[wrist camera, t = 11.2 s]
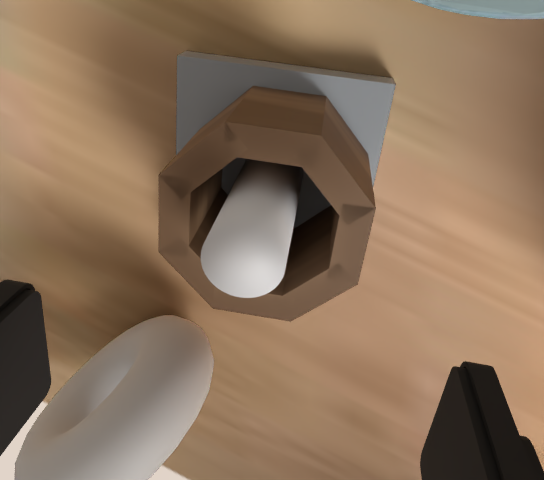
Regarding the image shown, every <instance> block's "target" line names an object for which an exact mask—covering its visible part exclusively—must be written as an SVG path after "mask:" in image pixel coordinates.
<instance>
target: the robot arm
mask: <svg viewBox="0 0 544 480" xmlns="http://www.w3.org/2000/svg"><path fill="white" fill-rule="evenodd" d="M50 385H51V375H50V367H49V358H48V350H47V342H46V334H45V326H44V318H43V309H42V301H41V295H40V293H39V292H37V291H35V288H34V287H33V285H31V284H29V283H23V282H18V281H12V280H4V281H2V282H0V456H1V454H2V453H3V452H4V450H5V449H6V448H7V446H8V445H9V444H10V443H11V441H12V440H13V439H14V437H15V436H16V435H17V433H18V432H19V431H20V429H21V428H22V427H23V425H24V424H25V423H26V422H27V420H28V419H29V417H30V416H31V415H32V414H33V412H34V411H35V410H36V408H37V407H38V406H39V404H40V403H41V402H42V401H43V399H44V398H45V397H46V395H47V393H48V391H49V389H50ZM420 468H421V476H422V480H544V471H543V469H542V466H541V464H540V461H539V459H538V456H537V454H536V451H535V449H534V447H533V445H532V443H531V441H530V440H529V439H528V438H527V437H524V436H519V433H518V430H517V428H516V425H515V422H514V420H513V417H512V414H511V412H510V409H509V407H508V404H507V401H506V399H505V396H504V393H503V391H502V388H501V385H500V383H499V380H498V377H497V375H496V372H495V370H494V368H493V367H492V366H488V365H483V364H477V363H472V362H466V361H465V362H463V363H462V364H461V366H460V367H453V368H452V369H451V372H450V374H449V377H448V380H447V383H446V386H445V388H444V391H443V394H442V397H441V400H440V402H439V405H438V408H437V411H436V414H435V416H434V419H433V422H432V425H431V428H430V430H429V433H428V436H427V439H426V442H425V444H424V447H423V450H422V454H421V461H420Z"/></svg>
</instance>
